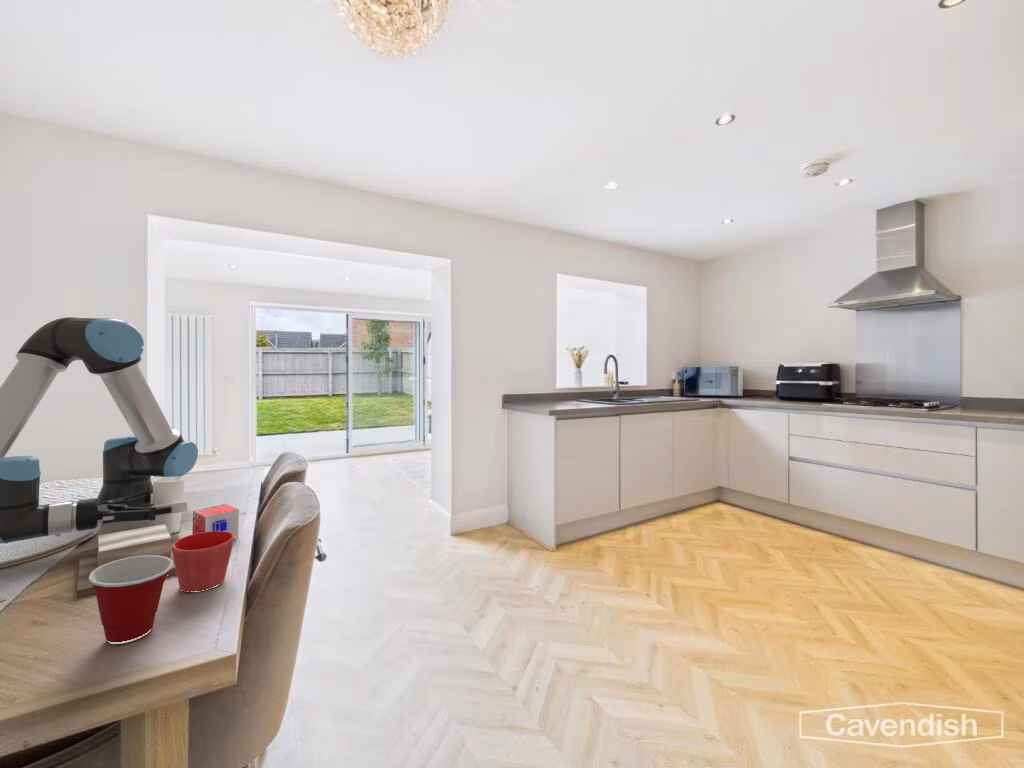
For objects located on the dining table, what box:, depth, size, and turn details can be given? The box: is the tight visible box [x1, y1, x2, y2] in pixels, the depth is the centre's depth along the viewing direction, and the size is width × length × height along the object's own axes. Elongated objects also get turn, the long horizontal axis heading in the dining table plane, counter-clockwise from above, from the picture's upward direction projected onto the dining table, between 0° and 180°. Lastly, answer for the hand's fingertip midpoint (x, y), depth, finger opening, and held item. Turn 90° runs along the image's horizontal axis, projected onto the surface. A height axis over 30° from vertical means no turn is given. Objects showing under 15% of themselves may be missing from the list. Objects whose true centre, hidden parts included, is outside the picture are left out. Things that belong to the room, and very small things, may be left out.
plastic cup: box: [89, 555, 173, 642], centre depth 72 cm, size 11×11×12 cm
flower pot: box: [172, 531, 235, 592], centre depth 89 cm, size 11×11×10 cm
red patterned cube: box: [191, 503, 240, 539], centre depth 113 cm, size 8×8×8 cm
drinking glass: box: [153, 476, 186, 535], centre depth 116 cm, size 7×7×15 cm
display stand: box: [76, 524, 180, 599], centre depth 97 cm, size 24×18×6 cm
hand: (183, 500), depth 118 cm, fingers open, 13 cm apart
